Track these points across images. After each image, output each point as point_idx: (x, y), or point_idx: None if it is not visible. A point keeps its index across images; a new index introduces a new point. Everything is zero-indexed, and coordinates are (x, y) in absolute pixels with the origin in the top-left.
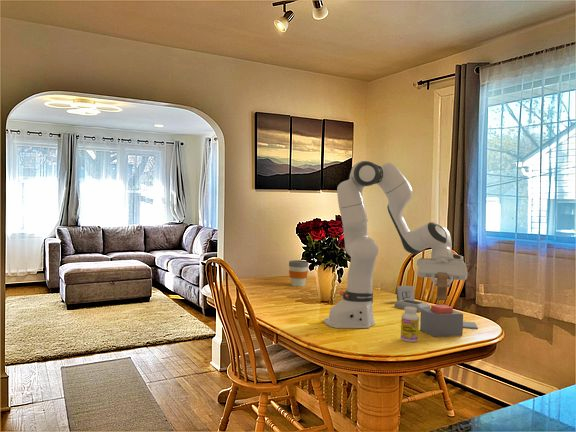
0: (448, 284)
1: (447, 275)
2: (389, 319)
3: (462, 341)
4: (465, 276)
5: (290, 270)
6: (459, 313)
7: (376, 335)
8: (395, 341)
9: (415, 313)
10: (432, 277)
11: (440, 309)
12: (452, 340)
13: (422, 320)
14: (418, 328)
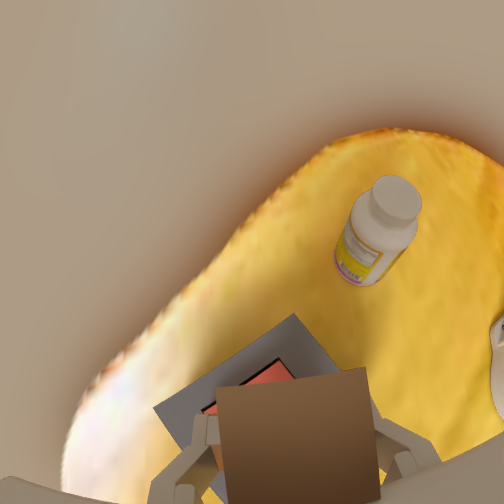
0: (216, 413)
1: (219, 387)
2: None
3: (184, 323)
4: (15, 478)
5: None
6: (172, 405)
7: (449, 266)
8: None
9: (369, 200)
10: (414, 436)
11: (274, 364)
12: (219, 321)
13: None
14: (342, 239)
